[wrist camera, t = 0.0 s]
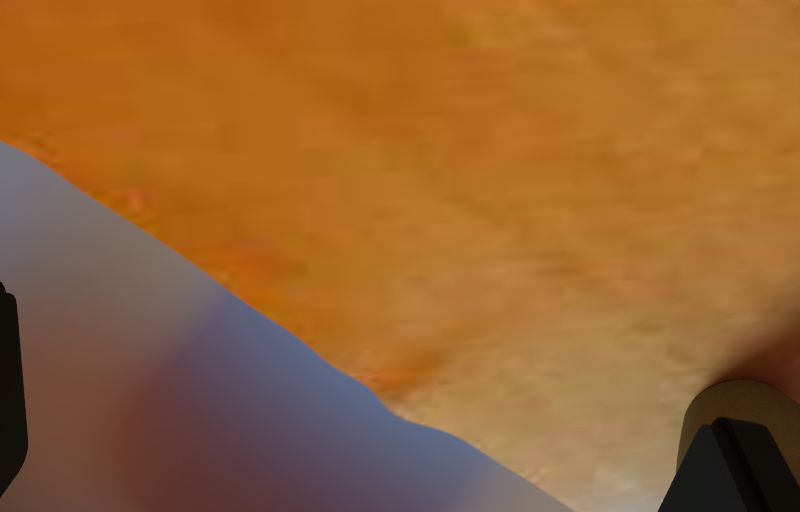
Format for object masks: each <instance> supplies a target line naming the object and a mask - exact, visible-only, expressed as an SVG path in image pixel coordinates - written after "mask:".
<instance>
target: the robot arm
mask: <svg viewBox="0 0 800 512" xmlns="http://www.w3.org/2000/svg"><path fill="white" fill-rule="evenodd" d="M27 450H28V435H27V423H26V410H25V398H24V386H23V375H22V363H21V349H20V337H19V326H18V313H17V304H16V299H15V297H14V295H12V294H10V293H6V291H5V287H4V286H3V284H2V282H0V498H1V496H2V495H3V493H4V492H5V490H6V489H7V488H8V486H9V485H10V483H11V482H12V481H13V479H14V478H15V476H16V475H17V474H18V472H19V471H20V469H21V467H22V465H23V463H24V461H25V457H26V454H27ZM658 512H800V487H799V485H798V483H797V481H796V479H795V478H794V476H793V474H792V472H791V470H790V468H789V466H788V464H787V463H786V461H785V459H784V457H783V455H782V453H781V451H780V449H779V448H778V446H777V444H776V442H775V440H774V438H773V436H772V434H771V433H770V431H769V430H768V428H767V427H766V426H764V425H762V424H760V423H754V422H749V421H744V420H738V419H733V418H728V417H718V418H716V419H715V420H714V421H713V422H712V424H711V425H707V424H705V425H702V426H701V427H700V428H699V429H698V431H697V432H696V434H695V436H694V439H693V441H692V443H691V445H690V447H689V449H688V451H687V453H686V455H685V457H684V459H683V461H682V463H681V465H680V467H679V469H678V471H677V473H676V475H675V477H674V479H673V481H672V483H671V486H670V488H669V490H668V492H667V494H666V496H665V498H664V500H663V502H662V504H661V506H660V508H659V510H658Z"/></svg>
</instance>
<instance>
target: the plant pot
mask: <svg viewBox="0 0 800 512" xmlns="http://www.w3.org/2000/svg"><path fill="white" fill-rule="evenodd" d="M718 417H728V418H733V419H738V420H744V421H749V422H754V423H760V424H762V425H764V426H766V427H767V428H768V430H769V431H770V433H771V434H772V436H773V438H774V440H775V442H776V444H777V446H778V448H779V449H780V451H781V453H782V455H783V457H784V459H785V461H786V463H787V464H788V466H789V468H790V470H791V472H792V474H793V476H794V478H795V479H796V481H797V483H798V485H799V487H800V405H799V404H798V403H796V402H795V401H793V400H792V399H790V398H789V397H787V396H786V395H784V394H783V393H781V392H779V391H778V390H776V389H774V388H773V387H771V386H769V385H767V384H765V383H761V382H758V381H753V380H731V381H726V382H723V383H719V384H717V385H714V386H712V387H710V388H708V389H706V390H705V391H703V392H702V393H701V394H699V395H698V396H697V397H696V398H695V399H694V400H693V401H692V403H691V404H690V406H689V407H688V409H687V411H686V414H685V417H684V422H683V426H682V432H681V437H680V443H679V450H678V457H677V468H676V473H677V471H678V469H679V467H680V465H681V463H682V461H683V459H684V457H685V455H686V453H687V451H688V449H689V447H690V445H691V443H692V441H693V439H694V436H695V434H696V432H697V431H698V429H699V428H700V427H701V426H702V425H705V424H707V425H711V424H712V422H713V421H714V420H715V419H716V418H718Z"/></svg>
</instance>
